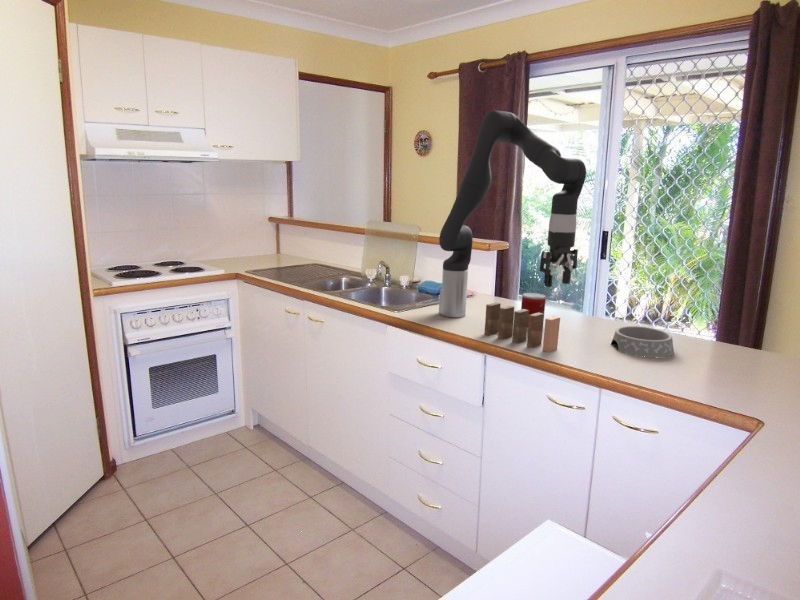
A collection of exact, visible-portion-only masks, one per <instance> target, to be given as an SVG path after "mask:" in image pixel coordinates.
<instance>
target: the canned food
mask: <svg viewBox="0 0 800 600" xmlns="http://www.w3.org/2000/svg"><path fill="white" fill-rule="evenodd" d="M546 299H547V298H546V295H545V294H542V293H538V292H537V293H536V292H524V293H523V294H522V297H521V307H520V310H521V309H526V310H529V315H531V314H535V313H538V312H539V313H543V314H544V315H545V311H546V310H545V309H546ZM544 321H545V320H544ZM544 321H543V323H545V322H544ZM528 327H529V316H528Z"/></svg>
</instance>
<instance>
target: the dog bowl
mask: <svg viewBox="0 0 800 600" xmlns="http://www.w3.org/2000/svg"><path fill="white" fill-rule="evenodd" d="M614 342H616V343H617V347H618V350H617V351H618V352H620V351H621V353H622V352H623V354H626V353H627V354H626V355H629V354H631V355H630V356H634V355H637V356H636V357H639V356H643V357H642V358H646V357H667V358H669V357H668V356H671V355H673V354H675V348H674V344H673V336H672V334H670V333H669V332H667V331H664V330H661V329H656V328H653V327H648V326H647V327H646V326H639V325H638V326H636V325H628V326H620V327H618V328H616V329H615V332H614V334H613V338H612V340H611V342H610V344H612V343H614ZM644 356H645V357H644ZM673 356H674V355H673ZM671 357H672V356H671Z"/></svg>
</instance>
